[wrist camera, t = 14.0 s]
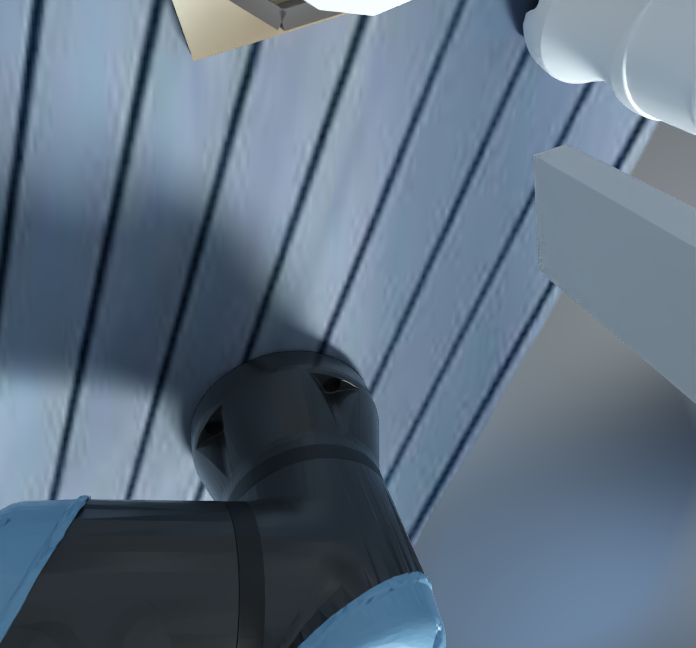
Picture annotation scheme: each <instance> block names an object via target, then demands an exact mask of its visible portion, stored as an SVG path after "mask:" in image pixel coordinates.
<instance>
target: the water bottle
mask: <svg viewBox="0 0 696 648" xmlns="http://www.w3.org/2000/svg"><path fill="white" fill-rule="evenodd" d="M523 31H524V38H525V42H526V45H527V48H528V51H529V52H530V54H531V56H532V57H533V59H534V60H535V61H536V62H537V63H538V64H539V65H540V66H541V67H542V68H543V69H544V70H545V71H546V72H547V73H549V74H550V75H551V76H552V77H554V78H556V79H558V80H560V81H563V82H567V83H575V84H576V83H587V82H592V81H605V82H606V83H607V84H608V85H609V86H610V87H611V89H612V90H613V92H614V93H615V95H616V96H617V97H618V99H619V100H620V101H621V102H622V103H623V104H624V105H625V106H626V107H627V108H629V109H630V110H631V111H633V112H635V113H637V114H639V115H641V116H644V117H646V118H649V119H652V120H657V121H663V122H666V123H668V124H670V125H673V126H675V127H677V128H679V129H682V130H684V131H686V132H689V133H691V134H694V135H696V0H539V3H538V5H537V7H536V8H535V9H533V10H530V11H529V12H527V13H526V15H525V19H524V23H523Z"/></svg>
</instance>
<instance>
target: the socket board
mask: <svg viewBox="0 0 696 648" xmlns="http://www.w3.org/2000/svg"><path fill="white" fill-rule="evenodd" d="M172 1H173V4H174V7H175V10H176V13H177V15H178V18H179V21H180V24H181V27H182V30H183V32H184V35H185V38H186V41H187V44H188V46H189V49H190V52H191V55H192V58H193V61H196V60H199V59H203V58H206V57H209V56H212V55H216V54H219V53H222V52H225V51H229V50H232V49H235V48H238V47H242V46H245V45H248V44H251V43H255V42H258V41H261V40H264V39H268V38H271V37H274V36H277V35H281V34H284V33H287V32H290V31H294V30H297V29H300V28H303V27H306V26H310V25H313V24H316V23H319V22H323V21H326V20H329V19H332V18H336V17H339V16H342V15H345V14H349V13H343V12H334V11H325V10H319V9H317V8H315V7H314V6H312V5H310V4H309V3H307V2H305V1H304V0H172Z"/></svg>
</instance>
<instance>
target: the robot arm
mask: <svg viewBox="0 0 696 648" xmlns="http://www.w3.org/2000/svg"><path fill="white" fill-rule="evenodd" d="M533 159H534V182H535V205H536V227H537V250H538V270H539V271H540V272H541V273H542V274H544V275H545V276H546V277H547V278H548V279H550V280H551V281H552V282H553V283H554V284H555V285H557V286H558V287H559V288H560V289H561V290H563V291H564V292H565V293H566V294H567V295H568V296H570V297H571V298H572V299H573V300H574V301H575V302H577V303H578V304H579V305H580V306H581V307H583V308H584V309H585V310H586V311H587V312H588V313H590V314H591V315H592V316H593V317H594V318H595V319H597V320H598V321H599V322H600V323H601V324H603V325H604V326H605V327H606V328H607V329H609V330H610V331H611V332H612V333H613V334H614V335H615V336H617V337H618V338H619V339H621V341H623V342H624V343H625V344H626V345H627V346H629V347H630V348H631V349H632V350H633V351H634V352H636V353H637V354H638V355H639V356H640V357H641V358H643V359H644V360H645V361H646V362H647V363H648V364H650V365H651V366H652V367H653V368H654V369H656V370H657V371H658V372H659V373H660V374H661V375H663V376H664V377H665V378H666V379H667V380H669V381H670V382H671V383H672V384H673V385H674V386H676V387H677V388H678V389H679V390H680V391H681V392H683V393H684V394H685V395H686V396H687V397H688V398H690V399H691V400H692V401H693V402H694V403H696V208H694V207H692V206H690V205H688V204H686V203H684V202H682V201H680V200H678V199H676V198H674V197H672V196H670V195H668V194H666V193H664V192H662V191H660V190H658V189H656V188H654V187H652V186H650V185H648V184H646V183H644V182H642V181H640V180H638V179H636V178H634V177H632V176H630V175H628V174H626V173H624V172H622V171H620V170H618V169H616V168H614V167H612V166H610V165H608V164H606V163H604V162H602V161H600V160H598V159H596V158H594V157H592V156H590V155H588V154H586V153H584V152H582V151H580V150H578V149H577V148H575V147H573V146H571V145H569V144H565V145H562V146H559V147H556V148H553V149H550V150H547V151H544V152H541V153H537V154H534V155H533ZM191 446H192V455H193V461H194V465H195V468H196V471H197V474H198V476H199V478H200V479H201V481H202V482H203V484H204V486H205V487H206V489H207V490H208V492H209V494H210V495H211V497H212V498H213V500H214V501H172V500H99V499H91V496H86V495H84V496H80V497H79V498H78V499H73V500H47V501H24V502H18V503H14V504H11V505H9V506H7V507H5V508H3V509H2V510H0V648H446V636H445V631H444V627H443V624H442V620H441V618H440V614H439V612H438V609H437V605H436V602H435V599H434V596H433V593H432V585H431V582H430V580H429V578H428V577H427V576H426V575H425V574H424V572H423V570H422V567H421V565H420V563H419V561H418V558H417V556H416V554H415V551H414V549H413V547H412V545H411V542H410V540H409V538H408V535H407V533H406V531H405V528H404V526H403V524H402V521H401V519H400V517H399V515H398V512H397V510H396V508H395V505H394V503H393V501H392V498H391V496H390V494H389V491H388V489H387V487H386V485H385V483H384V480H383V478H382V475H381V473H380V470H379V419H378V414H377V409H376V406H375V403H374V401H373V399H372V397H371V395H370V393H369V390H368V388H367V386H366V384H365V383H364V381H363V380H362V378H361V377H360V376H359V375H358V373H356V372H355V371H354V370H353V369H352V368H351V367H349V366H348V365H347V364H345V363H343V362H342V361H340V360H338V359H335V358H333V357H330V356H327V355H324V354H320V353H314V352H306V351H290V352H280V353H275V354H270V355H266V356H262V357H259V358H256V359H254V360H251V361H249V362H247V363H244V364H242V365H240V366H239V367H237V368H235V369H233V370H232V371H230V372H229V373H227V374H226V375H225V376H223V377H222V378H221V379H220V380H218V381H217V382H216V383H215V384H214V385H213V386H212V387H211V388H210V389H209V391H208V392H207V393H206V394H205V396H204V397H203V398H202V400H201V402H200V403H199V405H198V407H197V409H196V411H195V414H194V417H193V420H192V425H191Z"/></svg>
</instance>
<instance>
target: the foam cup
mask: <svg viewBox="0 0 696 648" xmlns="http://www.w3.org/2000/svg"><path fill="white" fill-rule="evenodd" d="M304 1H305V2H307V3H309V4H310V5H312V6H314V7H315V8H317V9H319V10H325V11H334V12H343V13H352V14H361V15H371V16H375V15H377V14H380V13H382V12H384V11H387V10H389V9H392V8H394V7H396V6H399V5H401V4H404V3H406V2H408V1H411V0H304Z"/></svg>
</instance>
